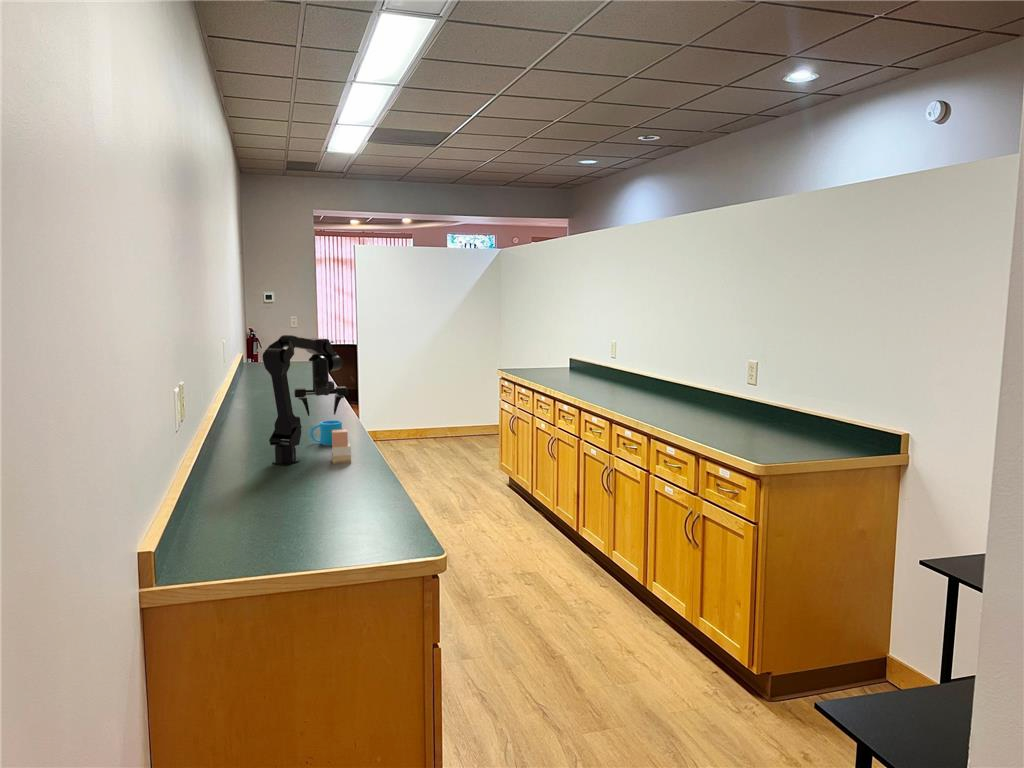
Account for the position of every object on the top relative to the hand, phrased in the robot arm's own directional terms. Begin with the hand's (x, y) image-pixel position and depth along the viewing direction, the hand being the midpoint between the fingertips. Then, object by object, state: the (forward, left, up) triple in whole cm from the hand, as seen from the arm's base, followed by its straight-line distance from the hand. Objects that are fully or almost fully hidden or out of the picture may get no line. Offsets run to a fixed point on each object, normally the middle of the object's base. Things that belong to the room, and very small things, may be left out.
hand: (321, 415), depth 274 cm
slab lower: (-11, -18, -13) cm, 25 cm away
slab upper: (-11, -18, -10) cm, 24 cm away
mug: (+10, +7, -13) cm, 18 cm away
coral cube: (-11, -18, -7) cm, 23 cm away
